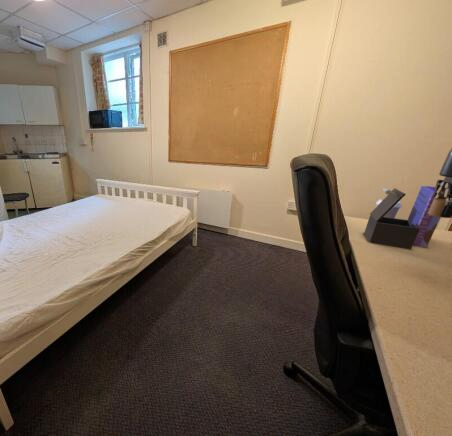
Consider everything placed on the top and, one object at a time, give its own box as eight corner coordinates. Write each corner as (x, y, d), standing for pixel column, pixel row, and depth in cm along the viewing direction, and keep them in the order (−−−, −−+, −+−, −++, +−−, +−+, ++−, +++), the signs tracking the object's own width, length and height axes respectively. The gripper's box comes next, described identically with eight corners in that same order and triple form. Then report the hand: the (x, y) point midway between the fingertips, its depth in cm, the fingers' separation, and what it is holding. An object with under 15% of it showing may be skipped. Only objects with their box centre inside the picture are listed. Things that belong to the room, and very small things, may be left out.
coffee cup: (397, 231, 113) (408, 203, 108) (382, 232, 112) (392, 204, 106) (377, 224, 122) (387, 198, 117) (363, 225, 120) (372, 199, 115)
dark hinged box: (401, 239, 104) (409, 220, 100) (411, 249, 95) (420, 228, 91) (363, 233, 110) (370, 215, 107) (369, 242, 101) (376, 222, 98)
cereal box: (426, 247, 96) (451, 194, 88) (410, 244, 99) (433, 192, 90) (416, 234, 109) (437, 187, 101) (402, 232, 112) (421, 185, 103)
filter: (447, 214, 73) (453, 199, 71) (456, 219, 68) (463, 203, 67) (424, 211, 75) (430, 197, 73) (431, 216, 71) (438, 201, 69)
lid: (396, 188, 100) (384, 183, 101) (406, 194, 90) (392, 188, 92) (371, 214, 107) (360, 209, 108) (378, 222, 97) (365, 216, 99)
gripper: (502, 164, 58) (471, 223, 64) (469, 159, 70) (445, 210, 76) (459, 162, 62) (434, 219, 68) (434, 158, 73) (414, 206, 79)
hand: (440, 214), depth 72 cm, fingers closed on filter, 5 cm apart
